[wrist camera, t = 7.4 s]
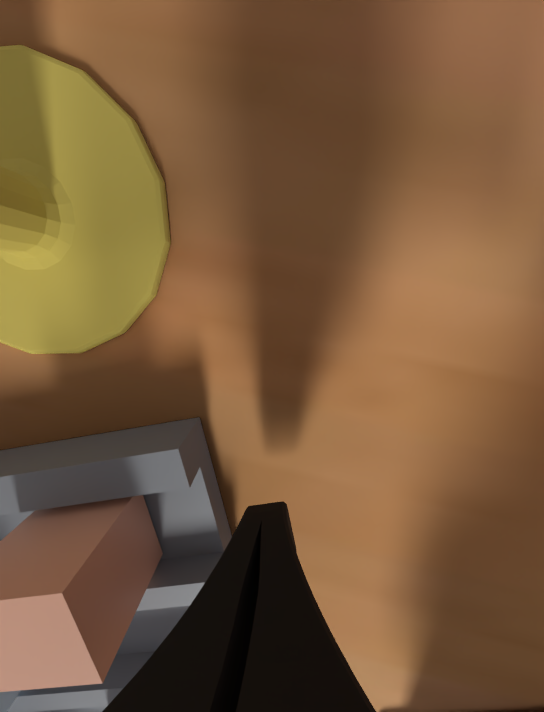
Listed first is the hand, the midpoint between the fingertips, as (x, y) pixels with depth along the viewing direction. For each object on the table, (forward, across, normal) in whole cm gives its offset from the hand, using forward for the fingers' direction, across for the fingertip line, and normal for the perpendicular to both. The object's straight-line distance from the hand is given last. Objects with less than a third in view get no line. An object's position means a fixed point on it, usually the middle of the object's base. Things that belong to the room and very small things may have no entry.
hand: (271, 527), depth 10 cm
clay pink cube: (+1, +7, 0) cm, 7 cm away
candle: (+3, +6, -12) cm, 14 cm away
